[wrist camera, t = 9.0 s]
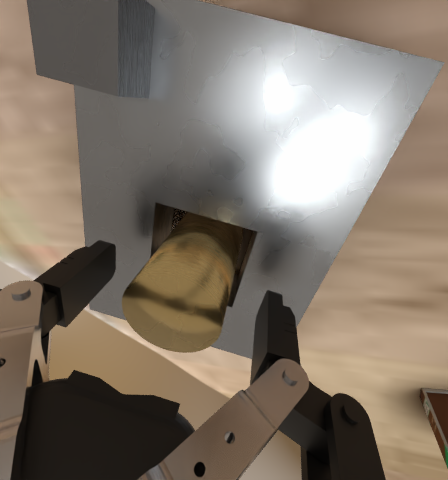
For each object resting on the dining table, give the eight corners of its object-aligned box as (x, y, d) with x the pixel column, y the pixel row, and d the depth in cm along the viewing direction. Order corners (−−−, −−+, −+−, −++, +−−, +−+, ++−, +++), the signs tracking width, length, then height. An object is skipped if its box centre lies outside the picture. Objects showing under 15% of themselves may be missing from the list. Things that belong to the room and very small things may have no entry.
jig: (117, 2, 12) (0, -78, 7) (399, 73, 12) (503, 47, 6) (116, 279, 21) (64, 336, 16) (274, 327, 20) (275, 402, 15)
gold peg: (186, 195, 16) (122, 260, 9) (250, 213, 16) (233, 294, 9) (177, 249, 18) (121, 335, 12) (233, 266, 18) (210, 363, 11)
